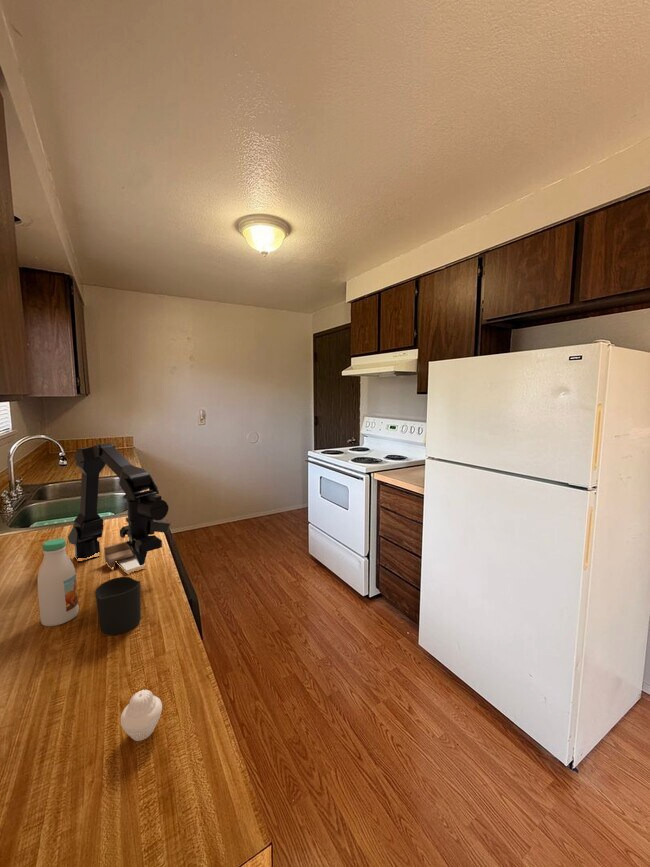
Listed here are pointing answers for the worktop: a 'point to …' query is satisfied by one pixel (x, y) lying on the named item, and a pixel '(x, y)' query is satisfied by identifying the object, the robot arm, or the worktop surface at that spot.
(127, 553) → the l-shaped bracket
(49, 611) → the milk bottle
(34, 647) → the worktop surface
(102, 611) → the pen holder
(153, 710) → the white rounded lump
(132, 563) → the tile
